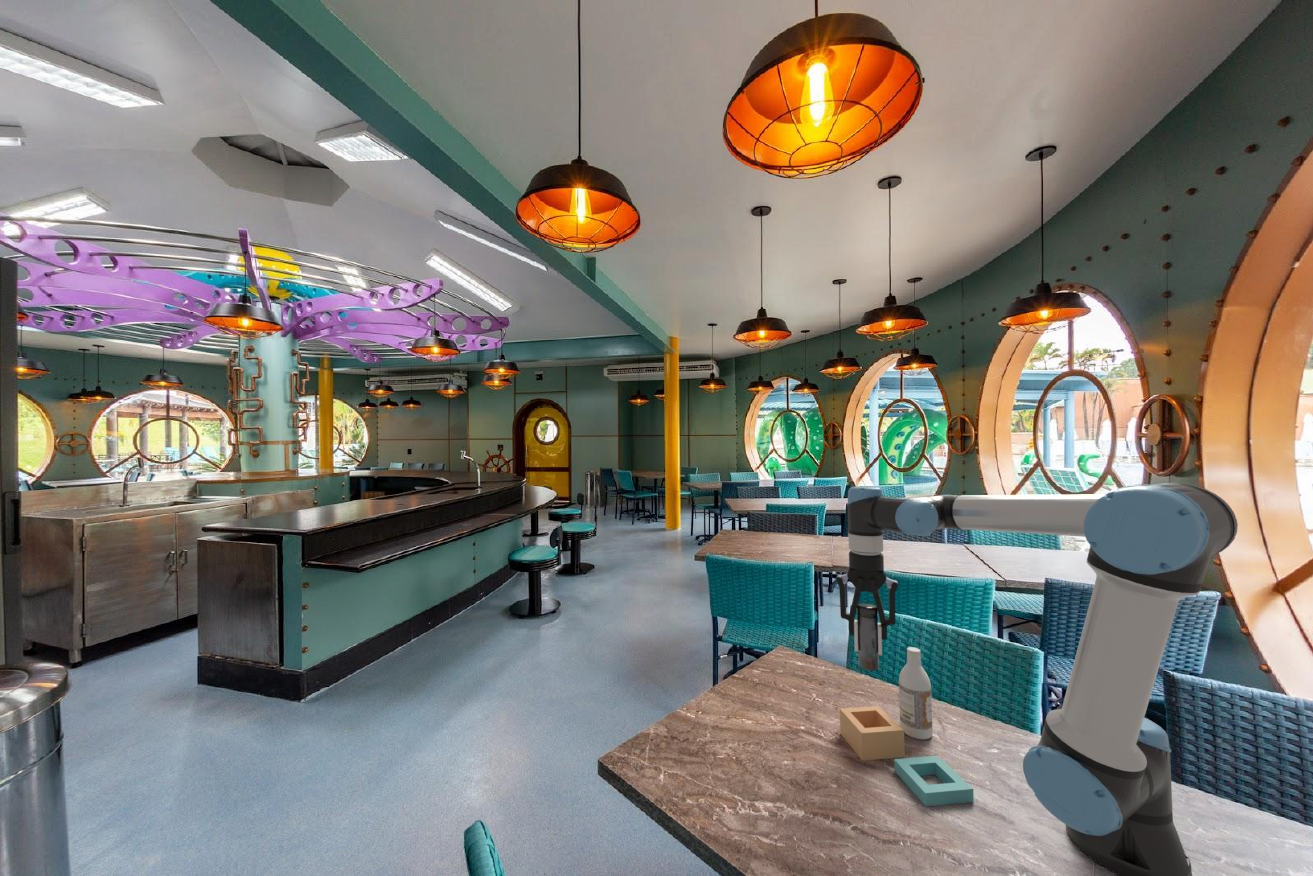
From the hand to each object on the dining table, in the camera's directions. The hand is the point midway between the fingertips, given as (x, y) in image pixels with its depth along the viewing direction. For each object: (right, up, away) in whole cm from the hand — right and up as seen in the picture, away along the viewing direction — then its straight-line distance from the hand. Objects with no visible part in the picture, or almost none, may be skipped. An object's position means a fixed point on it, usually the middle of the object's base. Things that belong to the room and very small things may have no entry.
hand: (868, 650), depth 109 cm
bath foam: (+14, -22, +4) cm, 26 cm away
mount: (+7, -21, -14) cm, 26 cm away
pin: (0, -4, 0) cm, 4 cm away
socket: (0, -22, -1) cm, 22 cm away
